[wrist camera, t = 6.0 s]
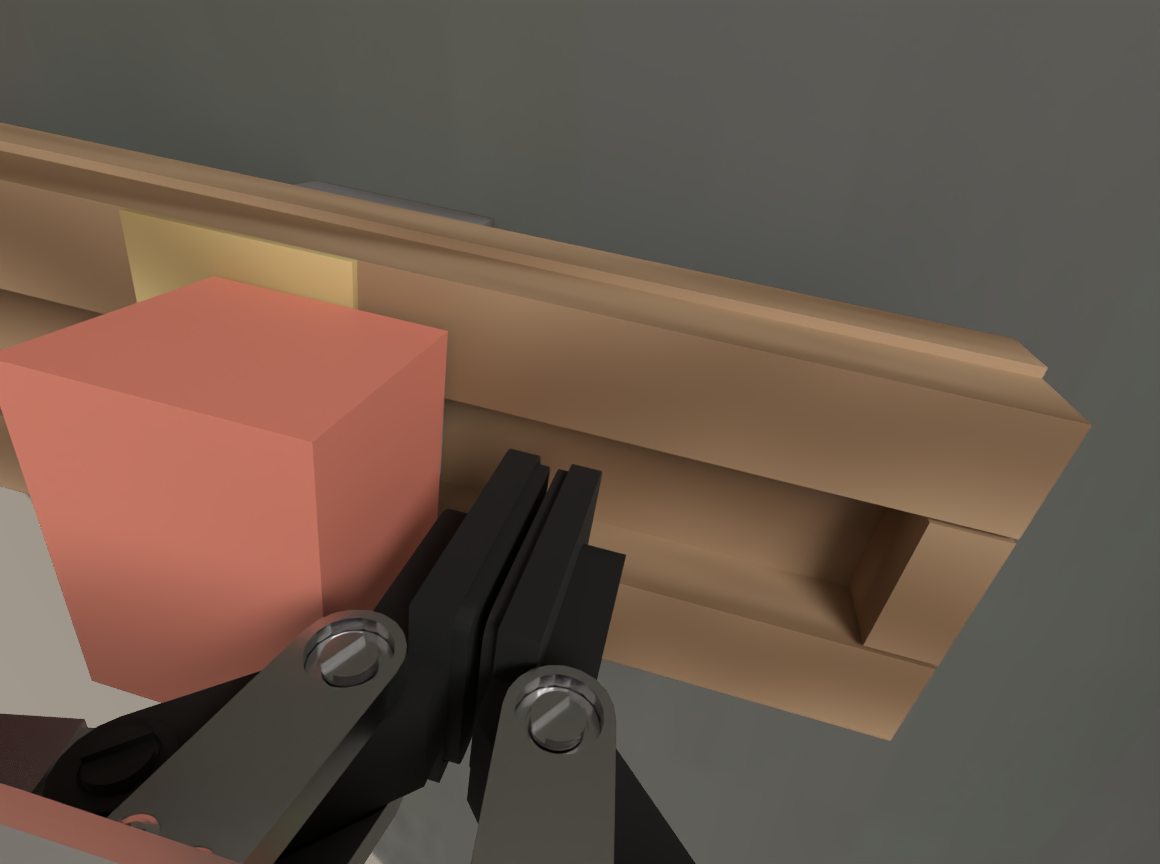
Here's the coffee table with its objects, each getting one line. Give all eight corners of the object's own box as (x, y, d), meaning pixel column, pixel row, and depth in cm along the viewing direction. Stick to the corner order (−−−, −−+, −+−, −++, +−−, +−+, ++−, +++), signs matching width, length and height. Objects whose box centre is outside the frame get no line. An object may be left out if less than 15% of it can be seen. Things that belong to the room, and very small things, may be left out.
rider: (278, 253, 13) (-17, 356, 8) (484, 300, 12) (312, 441, 7) (297, 493, 16) (92, 680, 11) (464, 538, 15) (332, 756, 10)
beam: (-63, 82, 18) (-424, 77, 12) (966, 296, 15) (1105, 418, 9) (17, 345, 22) (-229, 431, 16) (842, 557, 19) (887, 753, 13)
